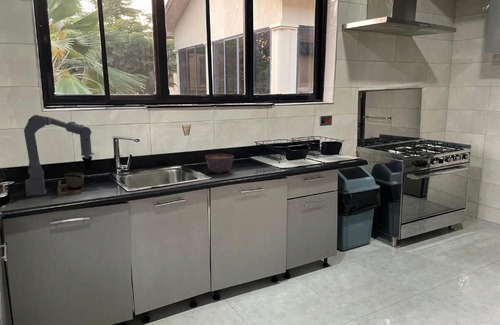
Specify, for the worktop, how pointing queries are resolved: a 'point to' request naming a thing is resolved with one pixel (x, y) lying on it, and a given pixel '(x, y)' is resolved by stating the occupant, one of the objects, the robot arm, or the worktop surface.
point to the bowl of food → (219, 162)
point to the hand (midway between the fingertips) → (88, 168)
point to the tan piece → (66, 191)
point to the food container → (74, 181)
